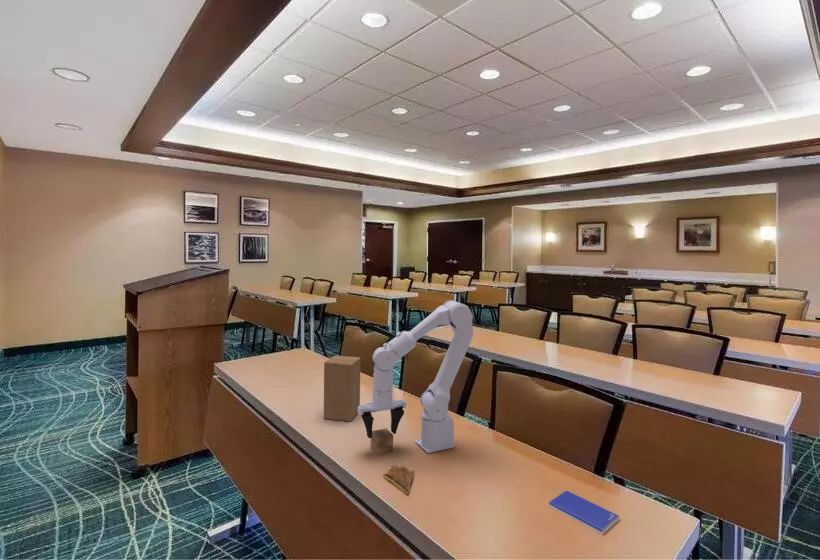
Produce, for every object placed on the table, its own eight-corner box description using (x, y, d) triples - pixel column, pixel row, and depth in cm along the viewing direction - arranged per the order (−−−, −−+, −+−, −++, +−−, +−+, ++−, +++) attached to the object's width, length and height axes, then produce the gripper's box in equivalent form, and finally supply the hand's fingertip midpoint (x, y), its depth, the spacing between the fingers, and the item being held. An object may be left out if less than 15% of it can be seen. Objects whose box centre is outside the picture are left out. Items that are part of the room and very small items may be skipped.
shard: (408, 497, 98) (408, 490, 97) (376, 494, 99) (376, 486, 99) (415, 474, 108) (415, 467, 108) (386, 471, 110) (387, 464, 109)
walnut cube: (386, 444, 124) (386, 428, 123) (392, 451, 119) (393, 435, 119) (370, 447, 122) (370, 431, 121) (376, 455, 117) (377, 438, 117)
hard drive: (619, 514, 91) (567, 489, 100) (602, 529, 85) (548, 501, 95) (619, 521, 91) (566, 495, 100) (601, 537, 86) (548, 508, 95)
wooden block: (350, 422, 139) (351, 364, 138) (322, 419, 141) (323, 361, 140) (360, 411, 149) (361, 357, 148) (334, 408, 151) (334, 355, 150)
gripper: (399, 382, 126) (398, 425, 127) (354, 387, 120) (353, 433, 120) (409, 389, 120) (408, 434, 121) (362, 395, 113) (361, 443, 114)
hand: (381, 434), depth 120 cm, fingers open, 7 cm apart
